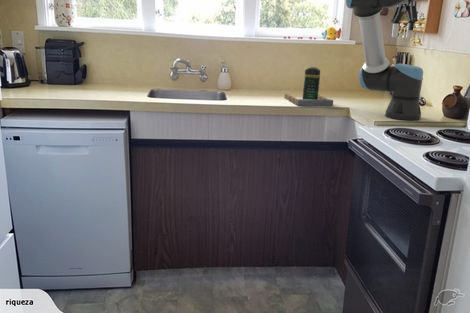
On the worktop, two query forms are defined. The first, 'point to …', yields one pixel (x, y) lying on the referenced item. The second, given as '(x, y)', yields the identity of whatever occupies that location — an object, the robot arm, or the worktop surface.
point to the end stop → (314, 102)
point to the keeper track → (293, 99)
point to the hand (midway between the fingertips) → (401, 37)
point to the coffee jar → (311, 83)
